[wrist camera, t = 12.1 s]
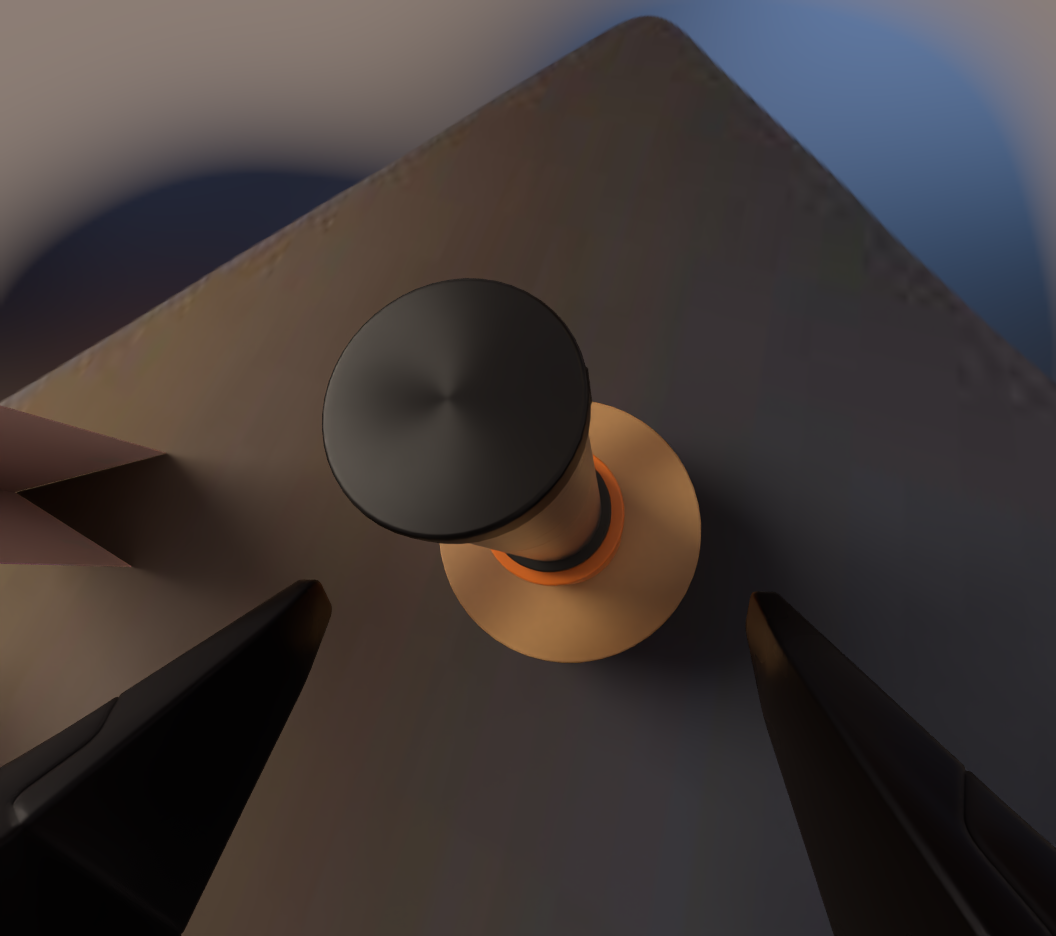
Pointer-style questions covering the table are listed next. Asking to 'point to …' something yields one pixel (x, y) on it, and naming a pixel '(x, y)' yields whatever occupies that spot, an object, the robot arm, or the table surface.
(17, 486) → the greeting card
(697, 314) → the table surface
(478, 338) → the torch
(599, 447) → the birch box
